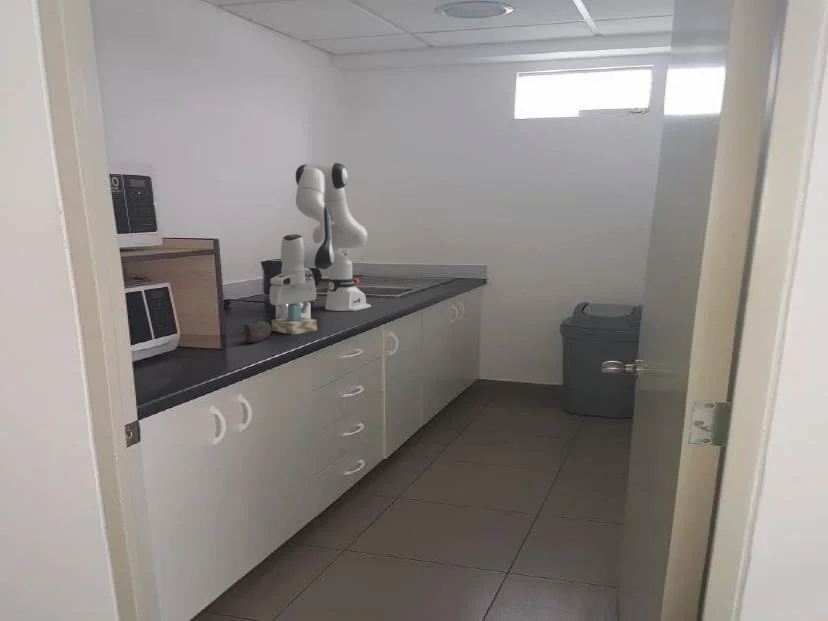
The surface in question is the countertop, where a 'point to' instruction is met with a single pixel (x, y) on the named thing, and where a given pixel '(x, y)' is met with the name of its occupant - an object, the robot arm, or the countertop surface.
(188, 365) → the countertop surface
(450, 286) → the countertop surface
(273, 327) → the bore block
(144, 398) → the countertop surface
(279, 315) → the cylinder
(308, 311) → the medicine bottle
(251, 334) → the perforated stone tool
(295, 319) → the square bit
